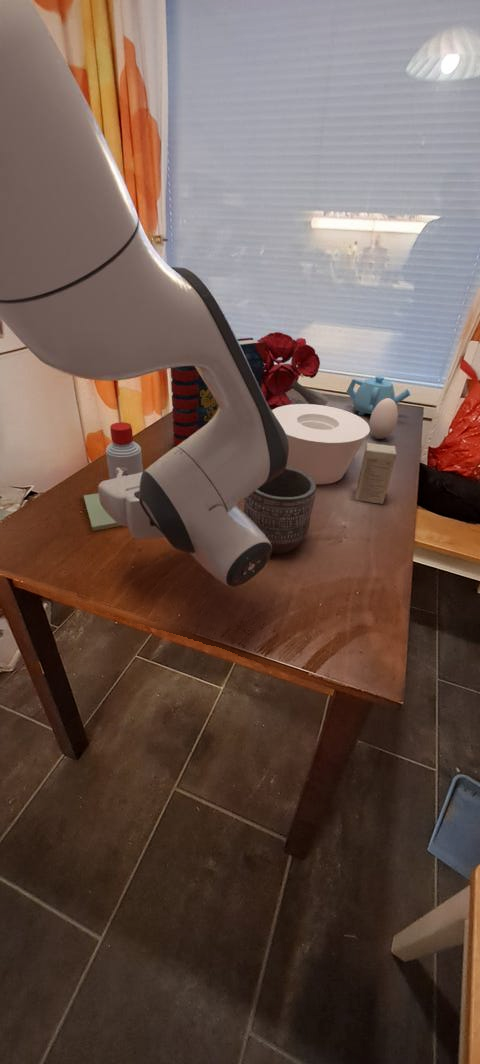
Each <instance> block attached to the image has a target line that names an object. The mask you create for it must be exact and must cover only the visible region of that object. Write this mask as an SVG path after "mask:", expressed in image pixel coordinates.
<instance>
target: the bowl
mask: <svg viewBox="0 0 480 1064" xmlns="http://www.w3.org/2000/svg"><path fill="white" fill-rule="evenodd" d="M272 412H273V413H274V415H275V416H276V418H277V420H278V421H279V423H280V424H281V426H282V428H283V429H284V431H285V433H286V435H287V438H288V441H289V454H288V460H287V464H286V467H291V468H295V469H298V470H301V471H303V472H305V473H307V474H308V475H310V476H311V477H312V478H313V479H314V481H315V483H316V485H328V484H332V483H336V482H338V481H340V480H341V479H343V477H344V476H345V474H346V472H347V471H348V469H349V467H350V465H351V464H352V462H353V460H354V458H355V457H356V455H357V453H358V452H359V450H360V448H361V447H362V445H363V444H364V442H365V440H366V438H367V437H368V435H369V433H370V432H371V430H370V426H369V423H368V422H367V421H366V420H365V419H364V418H362V417H361V416H359V415H356V414H354V413H353V412H350V411H347V410H345V409H341V408H337V407H333V406H328V405H326V406H323V405H314V404H309V403H291V405H285V406H281V407H278V408H275V409H273V410H272Z"/></svg>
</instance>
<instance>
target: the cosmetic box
mask: <svg viewBox="0 0 480 1064" xmlns="http://www.w3.org/2000/svg"><path fill="white" fill-rule="evenodd" d="M396 458H397V448H396V445H390V444H380V443H373V442H366V444H365V448H364V454H363V457H362V461H361V467H360V471H359V475H358V479H357V484H356V488H355V496H354V499H355V500H356V501H360V502H367V503H373V504H381V505H382V504H383V505H384V502H385V498H386V495H387V490H388V487H389V484H390V480H391V476H392V472H393V469H394V465H395V461H396Z"/></svg>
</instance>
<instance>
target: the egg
mask: <svg viewBox="0 0 480 1064" xmlns="http://www.w3.org/2000/svg"><path fill="white" fill-rule="evenodd" d="M398 416H399V411H398V405H397V404H395V402H394V401H393V400H392V399H390V398H386V399H384V400H382V401H380V402H379V403H378V405H377V406H376V407H375V409H374V410H373V412H372V414H370V418H369V423H368V425H369V427H370V433H371V435H372V436H373V437H374V438H375V439H377V440H383V439H385V438H387V437H390V435H391V434H392V433H393V431H394V430H395V428H396V427H397V423H398V418H399V417H398Z"/></svg>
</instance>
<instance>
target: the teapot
mask: <svg viewBox="0 0 480 1064" xmlns="http://www.w3.org/2000/svg"><path fill="white" fill-rule="evenodd" d="M356 385H358V386H359V387H358V389H357V390H356V391H355V390H354V389H355V387H356ZM394 388H395V387H394V384H393V383H392V381H390V380H386V379H385V378H384V376H382V375H376V376H375V378H372V377H369V378H366V379H365V380H361V379H358V378H355V377H353V378H352V380H351V381H350V383H349V385H348V387H347V390H346V394H347V395H348V396H349V398H350V399H351V400H352V404H353V407H354V409H355V410H356V411H358V412H357V414H358V416H359V415H360V416H365V415H366V414H368V415H371V414H372V412H373V410H374V409H375V407H376V406H377V405H378V403H379V402H380V401H382V400H384V399H386V398H390V399H392V400H393V401H394V402H395V404H396V405H398V404H399V403H401V402H402V401H404V400H405V399H407V398H408V397H410V396H411V392H410V391H409V389H405V390H403V391H402V392H400V393H399V394H397V396H396V395H395V389H394Z"/></svg>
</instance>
